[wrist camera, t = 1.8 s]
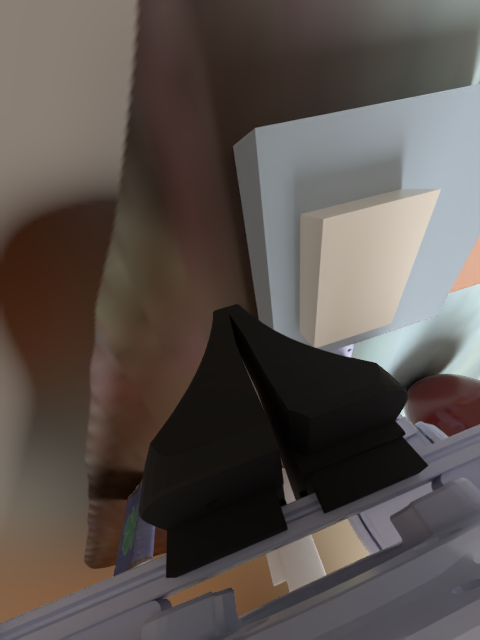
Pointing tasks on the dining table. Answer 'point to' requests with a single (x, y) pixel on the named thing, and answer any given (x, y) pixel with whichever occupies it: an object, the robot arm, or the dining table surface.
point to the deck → (362, 194)
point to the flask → (134, 537)
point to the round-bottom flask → (445, 402)
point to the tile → (359, 262)
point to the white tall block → (295, 556)
